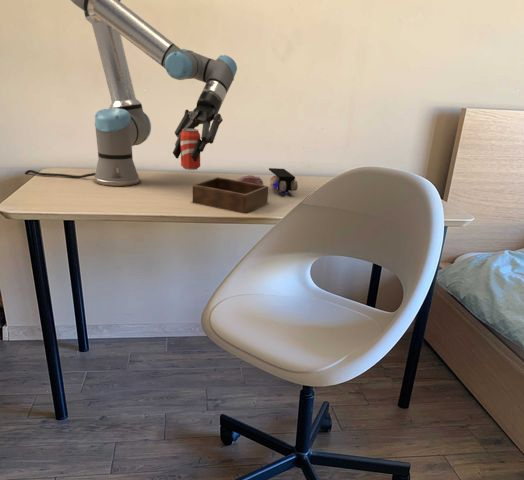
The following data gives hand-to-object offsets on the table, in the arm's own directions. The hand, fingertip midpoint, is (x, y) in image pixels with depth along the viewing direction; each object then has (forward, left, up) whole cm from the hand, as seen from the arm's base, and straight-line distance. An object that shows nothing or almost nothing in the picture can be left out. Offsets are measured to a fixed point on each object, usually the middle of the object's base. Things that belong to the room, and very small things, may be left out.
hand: (184, 157), depth 165 cm
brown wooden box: (+16, +3, -13) cm, 21 cm away
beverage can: (0, +4, -4) cm, 6 cm away
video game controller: (+13, +22, -13) cm, 28 cm away
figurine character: (+23, +29, -13) cm, 39 cm away
